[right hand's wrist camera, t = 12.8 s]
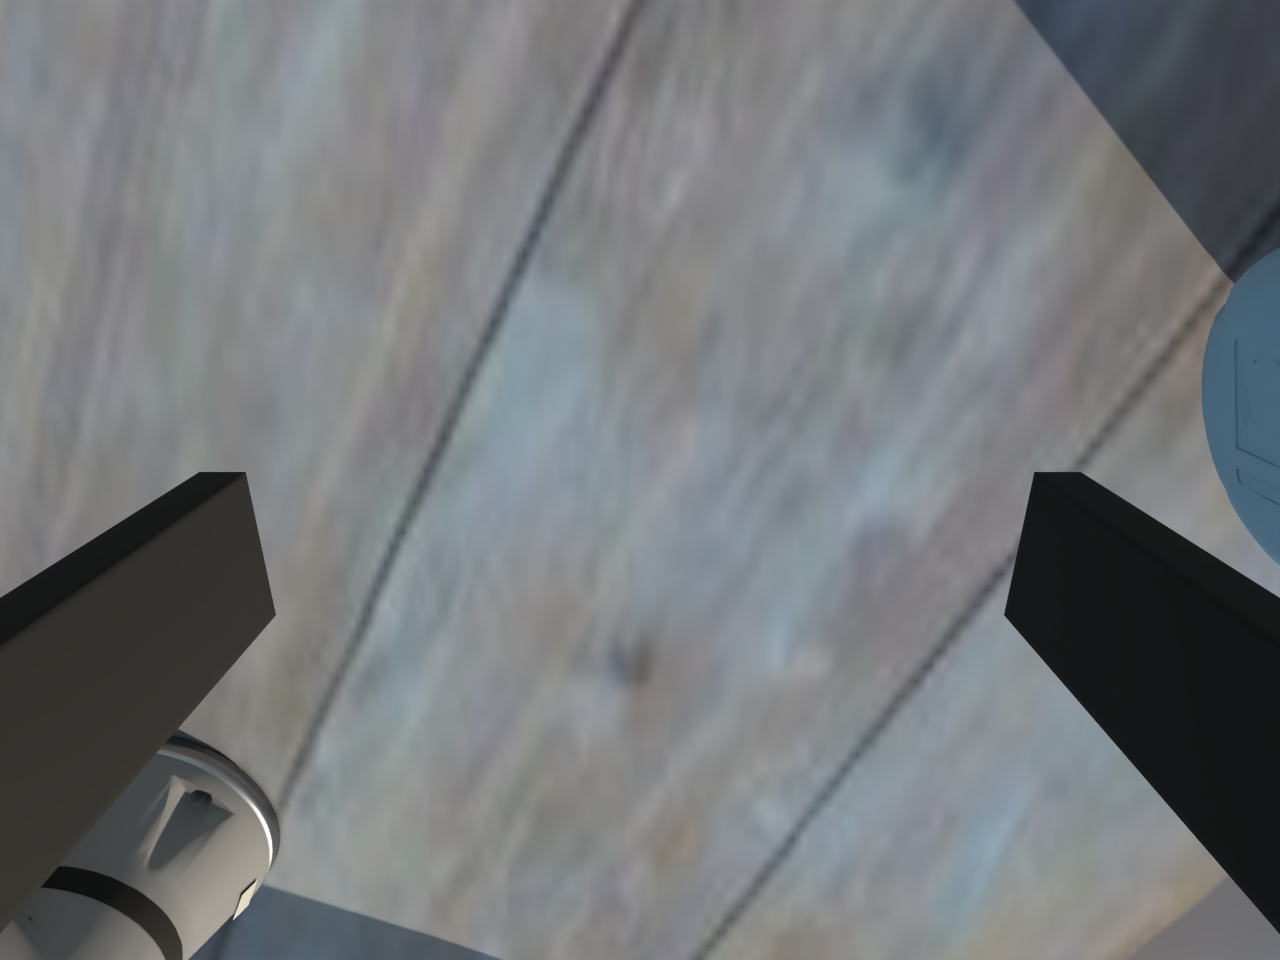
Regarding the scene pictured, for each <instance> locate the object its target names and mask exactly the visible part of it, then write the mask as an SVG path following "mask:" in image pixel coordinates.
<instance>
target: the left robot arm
mask: <svg viewBox="0 0 1280 960" xmlns="http://www.w3.org/2000/svg"><path fill="white" fill-rule="evenodd" d="M1202 406H1203V416H1204V423H1205V429H1206V434H1207V439H1208V444H1209V448H1210V451H1211V455H1212V459H1213V462H1214V464H1215V467H1216V470H1217V473H1218V475H1219V478H1220V480H1221V482H1222V483H1223V485H1224V487H1225V489H1226V491H1227V494H1228V497H1229V500H1230V502H1231V504H1232V506H1233V508H1234V509H1235V511H1236V513H1237V514H1238V516H1239V518H1240V519H1241V521H1242V522H1243V524H1244V525H1245V527H1246V528H1247V529H1248V531H1249V532H1250V534H1251V535H1252V536H1253V538H1254V539H1255V540H1256V541H1257V542H1258V544H1259V545H1260V546H1261V547H1262V548H1263V549H1264V550H1265V552H1266V553H1267V554H1268V555H1269V556H1270V557H1271V558H1272V559H1273V560H1274V561H1275V562H1276V563H1278V564H1279V565H1280V247H1279V248H1277V249H1276V250H1274V251H1272V252H1271V253H1269V254H1267V255H1266V256H1264V257H1263V258H1261V259H1260V260H1258V261H1257V262H1256V263H1255V264H1254V265H1253V266H1251V267H1250V268H1249V269H1248V270H1247V271H1246V272H1245V273H1244V274H1243V275H1242V276H1241V277H1240V278H1239V280H1238V281H1237V282H1236V283H1235V285H1234V286H1233V288H1232V289H1231V292H1230V295H1229V297H1228V299H1227V303H1226V304H1224V306H1223V307H1222V308H1221V309H1220V311H1219V312H1218V313H1217V315H1216V317H1215V319H1214V322H1213V325H1212V327H1211V330H1210V334H1209V337H1208V341H1207V346H1206V350H1205V355H1204V361H1203V371H1202Z"/></svg>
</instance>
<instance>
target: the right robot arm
mask: <svg viewBox="0 0 1280 960" xmlns="http://www.w3.org/2000/svg"><path fill="white" fill-rule="evenodd" d="M275 616H276V614H275V609H274V604H273V599H272V595H271V590H270V585H269V581H268V576H267V571H266V566H265V562H264V557H263V552H262V548H261V543H260V538H259V533H258V529H257V524H256V519H255V515H254V510H253V505H252V500H251V496H250V491H249V486H248V482H247V477H246V472H199V473H197V474H196V475H194V476H193V477H191V478H189V479H188V480H186V481H185V482H183V483H181V484H180V485H178V486H177V487H175V488H174V489H172V490H170V491H169V492H167V493H166V494H164V495H162V496H161V497H159V498H158V499H156V500H155V501H153V502H151V503H150V504H148V505H147V506H145V507H143V508H142V509H140V510H139V511H137V512H136V513H134V514H132V515H131V516H129V517H128V518H126V519H124V520H123V521H121V522H120V523H118V524H117V525H115V526H113V527H112V528H110V529H109V530H107V531H105V532H104V533H102V534H101V535H99V536H98V537H96V538H94V539H93V540H91V541H90V542H88V543H86V544H85V545H83V546H82V547H80V548H79V549H77V550H75V551H74V552H72V553H71V554H69V555H68V556H66V557H64V558H63V559H61V560H60V561H58V562H56V563H55V564H53V565H52V566H50V567H49V568H47V569H45V570H44V571H42V572H41V573H39V574H37V575H36V576H34V577H33V578H31V579H30V580H28V581H26V582H25V583H23V584H22V585H20V586H18V587H17V588H15V589H14V590H12V591H11V592H9V593H7V594H6V595H4V596H3V597H1V598H0V960H188V959H189V958H190V957H191V956H192V955H193V954H194V953H195V952H196V951H197V950H198V949H199V948H200V947H201V946H202V945H203V944H204V943H205V942H206V941H207V940H208V939H209V938H210V937H211V936H212V935H213V934H214V933H215V932H216V931H217V930H218V929H219V928H220V927H221V926H222V925H223V924H224V923H225V922H226V921H227V920H228V919H229V917H230V916H232V915H233V914H235V916H234V919H235V918H236V917H237V916H238V915H239V914H240V913H241V912H242V911H243V910H244V909H245V908H246V907H247V906H248V905H249V902H250V899H251V898H252V896H253V895H254V894H255V893H256V892H257V890H258V889H259V888H260V886H261V885H262V883H263V881H264V880H265V878H266V876H267V874H268V872H269V871H270V869H271V867H272V865H273V863H274V861H275V859H276V856H277V854H278V850H279V844H280V830H279V824H278V820H277V817H276V814H275V812H274V809H273V807H272V805H271V803H270V801H269V800H268V798H267V797H266V795H265V794H264V792H263V791H262V790H261V788H260V787H259V786H258V785H257V784H256V783H255V782H254V781H253V780H252V779H251V778H250V777H249V776H248V775H247V774H246V773H245V772H244V771H243V770H241V769H240V768H239V767H237V766H236V765H235V764H233V763H232V762H230V761H229V760H227V759H226V758H224V757H222V756H221V755H219V754H217V753H215V752H213V751H211V750H209V749H206V748H204V747H202V746H199V745H196V744H193V743H190V742H188V741H184V740H180V739H176V738H171V736H172V735H173V734H174V732H175V731H176V730H177V729H178V728H179V727H180V725H181V724H182V723H183V722H184V721H185V720H186V718H187V717H188V716H189V715H190V714H191V713H192V712H193V710H194V709H195V708H196V707H197V706H198V705H199V703H200V702H201V701H202V700H203V699H204V698H205V696H206V695H207V694H208V693H209V692H210V691H211V690H212V688H213V687H214V686H215V685H216V684H217V683H218V681H219V680H220V679H221V678H222V677H223V676H224V675H225V673H226V672H227V671H228V670H229V669H230V668H231V666H232V665H233V664H234V663H235V662H236V661H237V659H238V658H239V657H240V656H241V655H242V654H243V653H244V651H245V650H246V649H247V648H248V647H249V646H250V644H251V643H252V642H253V641H254V640H255V639H256V637H257V636H258V635H259V634H260V633H261V632H262V631H263V629H264V628H265V627H266V626H267V625H268V624H269V622H270V621H271V620H272V619H273V618H274V617H275ZM1004 616H1005V617H1006V618H1007V619H1008V620H1009V621H1010V622H1011V624H1012V625H1013V626H1014V627H1015V628H1016V629H1017V631H1018V632H1019V633H1020V634H1021V635H1022V636H1023V637H1024V639H1025V640H1026V641H1027V642H1028V643H1029V644H1030V646H1031V647H1032V648H1033V649H1034V650H1035V651H1036V653H1037V654H1038V655H1039V656H1040V657H1041V658H1042V659H1043V661H1044V662H1045V663H1046V664H1047V665H1048V666H1049V668H1050V669H1051V670H1052V671H1053V672H1054V673H1055V675H1056V676H1057V677H1058V678H1059V679H1060V680H1061V681H1062V683H1063V684H1064V685H1065V686H1066V687H1067V688H1068V690H1069V691H1070V692H1071V693H1072V694H1073V695H1074V696H1075V698H1076V699H1077V700H1078V701H1079V702H1080V703H1081V705H1082V706H1083V707H1084V708H1085V709H1086V710H1087V712H1088V713H1089V714H1090V715H1091V716H1092V717H1093V718H1094V720H1095V721H1096V722H1097V723H1098V724H1099V725H1100V727H1101V728H1102V729H1103V730H1104V731H1105V732H1106V734H1107V735H1108V736H1109V737H1110V738H1111V739H1112V740H1113V742H1114V743H1115V744H1116V745H1117V746H1118V747H1119V749H1120V750H1121V751H1122V752H1123V753H1124V754H1125V755H1126V757H1127V758H1128V759H1129V760H1130V761H1131V762H1132V764H1133V765H1134V766H1135V767H1136V768H1137V769H1138V771H1139V772H1140V773H1141V774H1142V775H1143V776H1144V777H1145V779H1146V780H1147V781H1148V782H1149V783H1150V784H1151V786H1152V787H1153V788H1154V789H1155V790H1156V791H1157V793H1158V794H1159V795H1160V796H1161V797H1162V798H1163V799H1164V801H1165V802H1166V803H1167V804H1168V805H1169V806H1170V808H1171V809H1172V810H1173V811H1174V812H1175V813H1176V814H1177V816H1178V817H1179V818H1180V819H1181V820H1182V821H1183V823H1184V824H1185V825H1186V826H1187V827H1188V828H1189V830H1190V831H1191V832H1192V833H1193V834H1194V835H1195V836H1196V838H1197V839H1198V840H1199V841H1200V842H1201V843H1202V845H1203V846H1204V847H1205V848H1206V849H1207V850H1208V852H1209V853H1210V854H1211V855H1212V856H1213V857H1214V858H1215V860H1216V861H1217V862H1218V863H1219V864H1220V865H1221V867H1222V868H1223V869H1224V870H1225V871H1226V872H1227V874H1228V875H1229V876H1230V877H1231V878H1232V879H1233V880H1234V882H1235V883H1236V884H1237V885H1238V886H1239V887H1240V889H1241V890H1242V891H1243V892H1244V893H1245V894H1246V895H1247V897H1248V898H1249V899H1250V900H1251V901H1252V902H1253V904H1254V905H1255V906H1256V907H1257V908H1258V909H1259V910H1260V912H1261V913H1262V914H1263V915H1264V916H1265V917H1266V919H1267V920H1268V921H1269V922H1270V923H1271V924H1272V926H1273V927H1274V928H1275V929H1276V930H1277V931H1278V933H1279V934H1280V598H1279V597H1277V596H1276V595H1274V594H1273V593H1271V592H1269V591H1268V590H1266V589H1265V588H1263V587H1262V586H1260V585H1258V584H1257V583H1255V582H1254V581H1252V580H1250V579H1249V578H1247V577H1246V576H1244V575H1243V574H1241V573H1239V572H1238V571H1236V570H1235V569H1233V568H1231V567H1230V566H1228V565H1227V564H1225V563H1224V562H1222V561H1220V560H1219V559H1217V558H1216V557H1214V556H1212V555H1211V554H1209V553H1208V552H1206V551H1205V550H1203V549H1201V548H1200V547H1198V546H1197V545H1195V544H1194V543H1192V542H1190V541H1189V540H1187V539H1186V538H1184V537H1182V536H1181V535H1179V534H1178V533H1176V532H1175V531H1173V530H1171V529H1170V528H1168V527H1167V526H1165V525H1163V524H1162V523H1160V522H1159V521H1157V520H1156V519H1154V518H1152V517H1151V516H1149V515H1148V514H1146V513H1144V512H1143V511H1141V510H1140V509H1138V508H1137V507H1135V506H1133V505H1132V504H1130V503H1129V502H1127V501H1125V500H1124V499H1122V498H1121V497H1119V496H1118V495H1116V494H1114V493H1113V492H1111V491H1110V490H1108V489H1106V488H1105V487H1103V486H1102V485H1100V484H1099V483H1097V482H1095V481H1094V480H1092V479H1091V478H1089V477H1087V476H1086V475H1084V474H1083V473H1081V472H1034V477H1033V482H1032V486H1031V491H1030V496H1029V500H1028V505H1027V510H1026V515H1025V519H1024V524H1023V529H1022V533H1021V538H1020V543H1019V548H1018V552H1017V557H1016V562H1015V566H1014V571H1013V576H1012V581H1011V585H1010V590H1009V595H1008V599H1007V604H1006V609H1005V614H1004ZM234 919H233V920H234Z"/></svg>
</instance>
